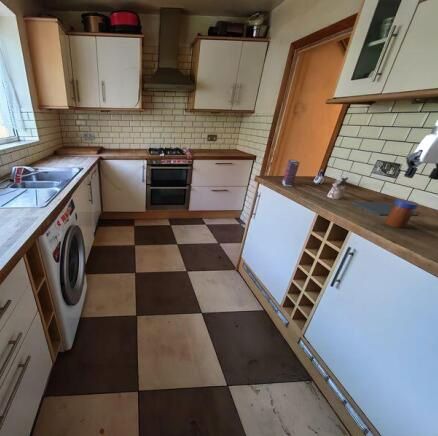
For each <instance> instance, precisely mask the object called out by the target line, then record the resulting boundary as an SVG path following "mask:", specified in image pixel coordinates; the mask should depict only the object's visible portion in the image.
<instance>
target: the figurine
mask: <svg viewBox="0 0 438 436" xmlns="http://www.w3.org/2000/svg"><path fill="white" fill-rule="evenodd" d="M348 180H349V177H343V176H340V177H338V178H336V180H335V181H334V183H332V187H331V189H330V190H329V192H328V193H327V197H328V198H330V199H333V200H342V199H343V198H344V197H345V193H346V192H345V191H346V186H347V184H348V182H347V181H348Z"/></svg>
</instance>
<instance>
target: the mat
mask: <svg viewBox="0 0 438 436" xmlns="http://www.w3.org/2000/svg"><path fill="white" fill-rule="evenodd" d="M351 204H353V205H355V206H357V207H359V208H361V209H363V210H366V211H367V212H370V213H373V214H375V215H376V216H388V215H389V213H390V211H391V210H392V208H393V206H394V204H392V203H390V202H389V203H388V202H386V201H385V202H376V201H375V202H373V201H372V202H371V201H367V202H366V201H351ZM413 216H415V217H418V216H419V214H418V213H415V212H414V213H413V214H412V216H411V217H413Z"/></svg>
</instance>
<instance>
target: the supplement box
mask: <svg viewBox="0 0 438 436" xmlns="http://www.w3.org/2000/svg"><path fill="white" fill-rule="evenodd" d="M299 166H300V161H298V160H297V159H288V162H287V165H286V168H285V171H284V175H283V179H282V181H281V183H282V184H283V186H284V187H290V188H291V187H293V185H294V180H295V179H296V175H297V173H298V170H299Z"/></svg>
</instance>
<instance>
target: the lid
mask: <svg viewBox="0 0 438 436" xmlns="http://www.w3.org/2000/svg"><path fill="white" fill-rule="evenodd" d="M394 204H395V205H397V206H400V207H404V208H410V209H415V210H417V209H418V207H419V205H420V204H419V203H417V202H416V201H413V200H409V199H400V198H398V199H397V198H396V199H395V201H394ZM394 204H393V205H394Z"/></svg>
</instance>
